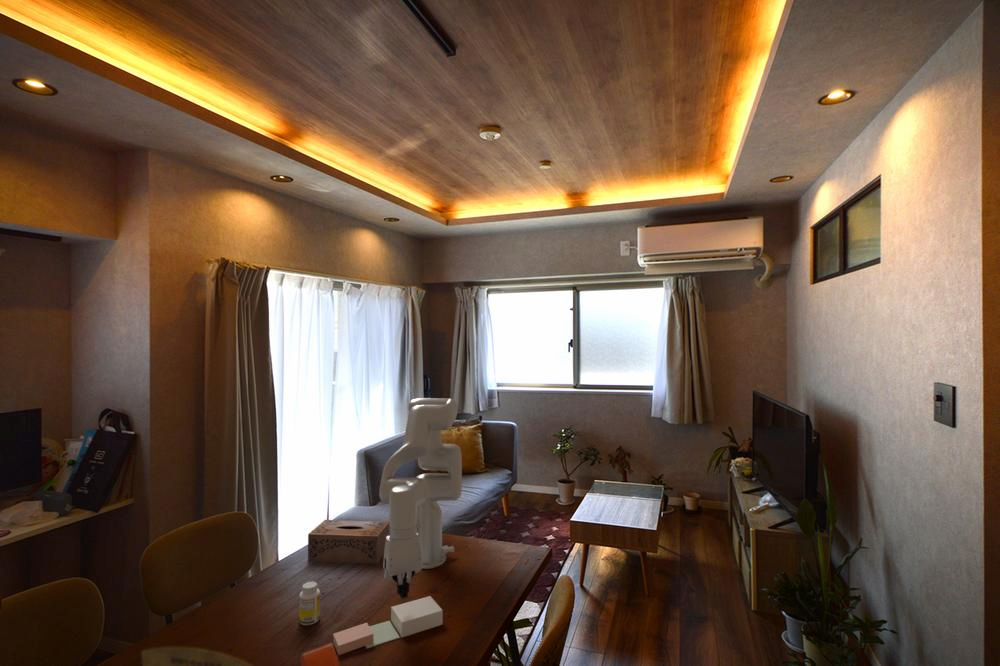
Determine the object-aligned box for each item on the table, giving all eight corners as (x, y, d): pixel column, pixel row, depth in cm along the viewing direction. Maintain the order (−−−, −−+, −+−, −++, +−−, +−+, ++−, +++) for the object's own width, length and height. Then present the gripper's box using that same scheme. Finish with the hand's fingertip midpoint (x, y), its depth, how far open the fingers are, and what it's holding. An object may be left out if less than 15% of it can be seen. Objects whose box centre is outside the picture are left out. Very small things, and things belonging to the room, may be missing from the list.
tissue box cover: (389, 547, 191) (389, 521, 191) (377, 564, 176) (377, 536, 177) (324, 545, 193) (325, 519, 193) (307, 561, 178) (308, 534, 178)
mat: (389, 621, 140) (389, 620, 140) (399, 638, 132) (399, 636, 132) (357, 631, 135) (357, 629, 135) (366, 648, 128) (366, 647, 128)
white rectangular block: (430, 609, 146) (430, 595, 146) (442, 624, 139) (442, 610, 139) (390, 621, 140) (391, 607, 140) (401, 637, 133) (401, 622, 133)
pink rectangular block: (333, 633, 130) (333, 642, 130) (338, 645, 125) (338, 655, 125) (366, 622, 135) (367, 631, 135) (373, 633, 130) (373, 642, 130)
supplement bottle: (313, 613, 144) (314, 578, 144) (323, 620, 141) (324, 584, 141) (295, 621, 140) (295, 585, 140) (305, 628, 136) (305, 591, 137)
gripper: (423, 521, 145) (423, 582, 145) (372, 531, 137) (373, 596, 138) (432, 530, 138) (432, 594, 139) (380, 542, 131) (380, 610, 131)
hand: (403, 595), depth 138 cm, fingers closed
